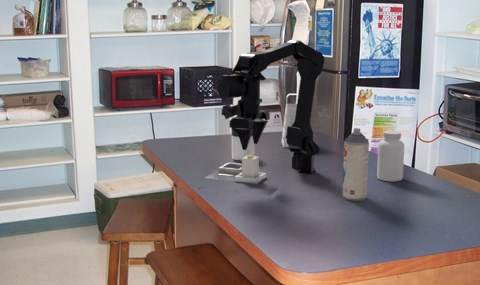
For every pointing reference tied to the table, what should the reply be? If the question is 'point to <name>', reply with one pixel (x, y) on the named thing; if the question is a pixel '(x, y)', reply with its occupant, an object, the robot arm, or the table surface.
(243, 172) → the plug
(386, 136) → the pill bottle
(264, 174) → the panel
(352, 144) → the aerosol can
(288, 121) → the grater
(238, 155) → the jar
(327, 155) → the table surface
